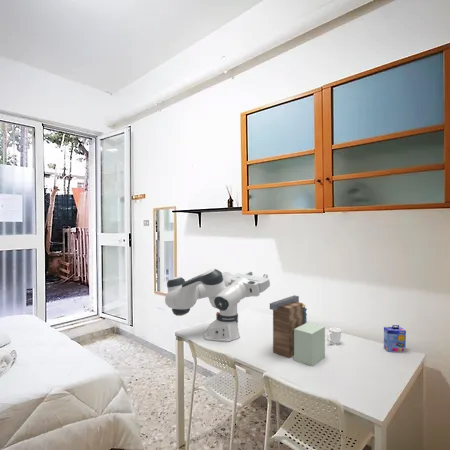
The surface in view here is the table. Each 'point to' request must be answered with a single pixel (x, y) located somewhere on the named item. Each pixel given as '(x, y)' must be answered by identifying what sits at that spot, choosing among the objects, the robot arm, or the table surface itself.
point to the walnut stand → (286, 328)
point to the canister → (304, 314)
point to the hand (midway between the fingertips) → (258, 274)
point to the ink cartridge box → (394, 339)
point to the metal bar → (284, 302)
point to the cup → (334, 335)
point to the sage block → (309, 343)
